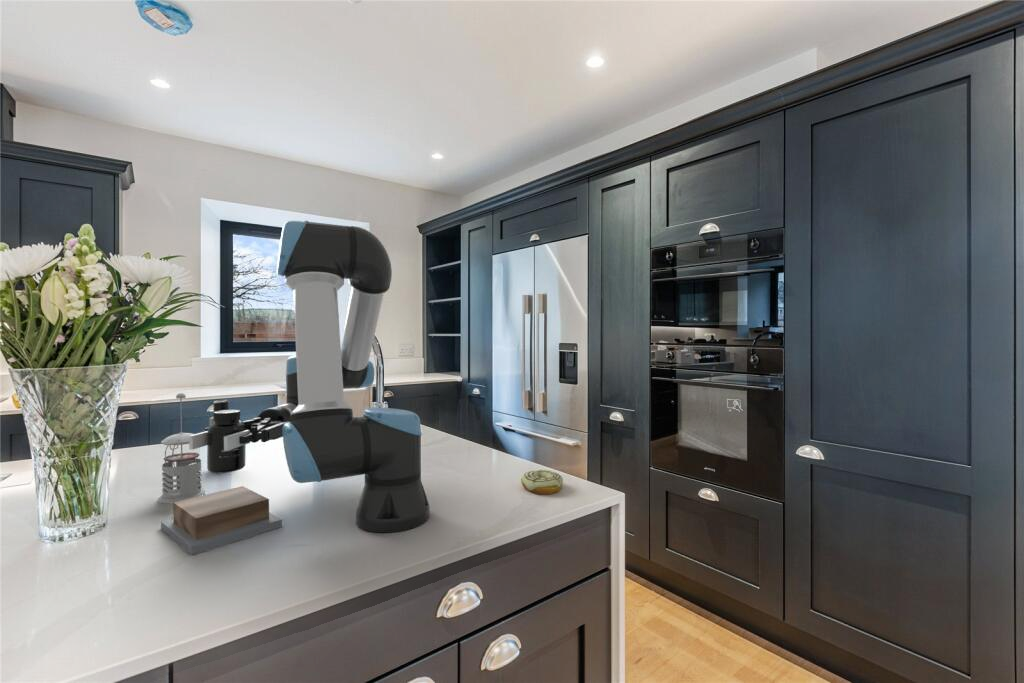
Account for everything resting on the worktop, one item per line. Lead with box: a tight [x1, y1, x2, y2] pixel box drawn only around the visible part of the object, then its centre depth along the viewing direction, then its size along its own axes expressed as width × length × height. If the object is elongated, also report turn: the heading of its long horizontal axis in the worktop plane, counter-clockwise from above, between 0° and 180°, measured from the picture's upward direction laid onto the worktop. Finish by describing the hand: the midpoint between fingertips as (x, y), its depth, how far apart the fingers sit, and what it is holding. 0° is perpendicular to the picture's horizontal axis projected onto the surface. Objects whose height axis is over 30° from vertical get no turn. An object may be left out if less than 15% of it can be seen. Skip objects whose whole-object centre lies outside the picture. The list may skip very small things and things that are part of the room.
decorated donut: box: [520, 469, 564, 495], centre depth 121 cm, size 10×11×4 cm
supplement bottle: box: [206, 409, 247, 474], centre depth 98 cm, size 7×7×12 cm
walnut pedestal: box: [172, 485, 270, 540], centre depth 96 cm, size 13×13×4 cm
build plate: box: [160, 511, 283, 556], centre depth 96 cm, size 18×16×2 cm
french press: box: [157, 392, 207, 504], centre depth 115 cm, size 10×12×25 cm
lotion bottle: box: [209, 399, 230, 427], centre depth 138 cm, size 6×6×20 cm
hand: (208, 443), depth 93 cm, fingers closed on supplement bottle, 7 cm apart
